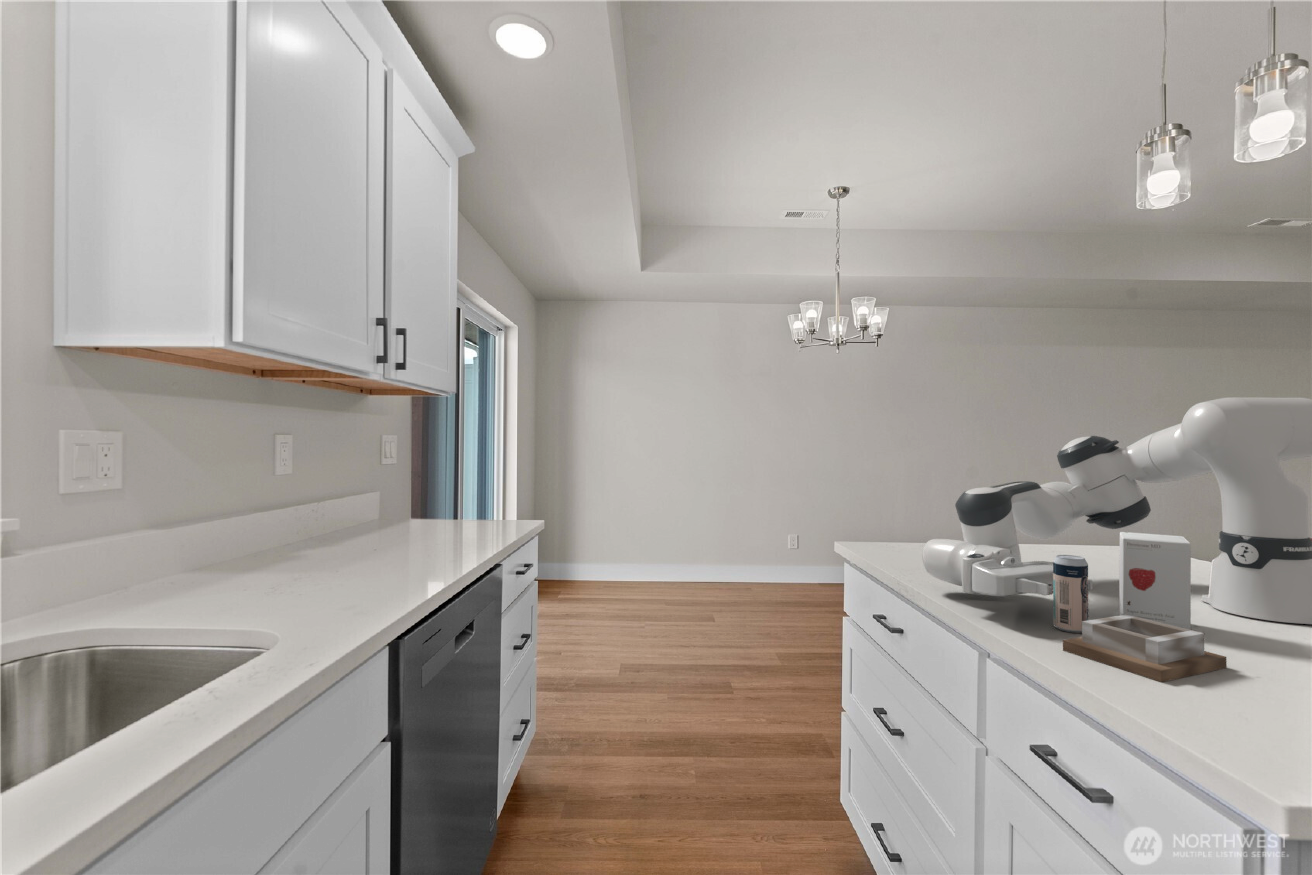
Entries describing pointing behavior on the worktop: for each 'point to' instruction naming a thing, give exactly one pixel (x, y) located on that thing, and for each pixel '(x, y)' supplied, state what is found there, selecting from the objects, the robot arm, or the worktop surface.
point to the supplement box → (1155, 578)
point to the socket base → (1145, 647)
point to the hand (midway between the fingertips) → (1070, 587)
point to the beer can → (1070, 592)
